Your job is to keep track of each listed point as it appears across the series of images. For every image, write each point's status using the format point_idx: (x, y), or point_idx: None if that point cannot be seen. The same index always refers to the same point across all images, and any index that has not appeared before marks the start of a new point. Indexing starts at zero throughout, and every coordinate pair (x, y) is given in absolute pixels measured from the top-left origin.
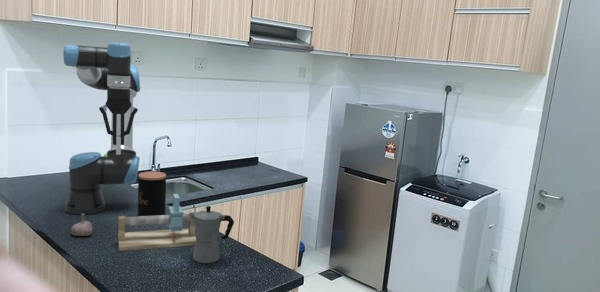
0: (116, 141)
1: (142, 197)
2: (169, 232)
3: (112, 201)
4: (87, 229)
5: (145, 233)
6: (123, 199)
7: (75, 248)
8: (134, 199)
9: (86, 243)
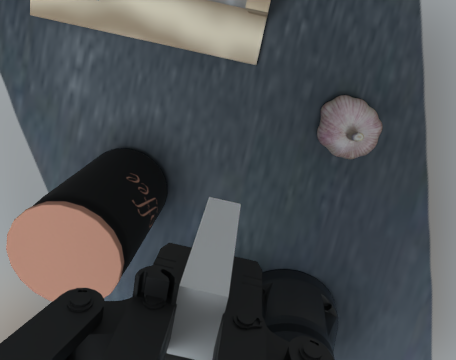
0: (231, 261)
1: (138, 195)
2: (105, 2)
3: None
4: (342, 100)
5: (179, 25)
6: None
7: (394, 17)
8: None
9: (354, 46)
